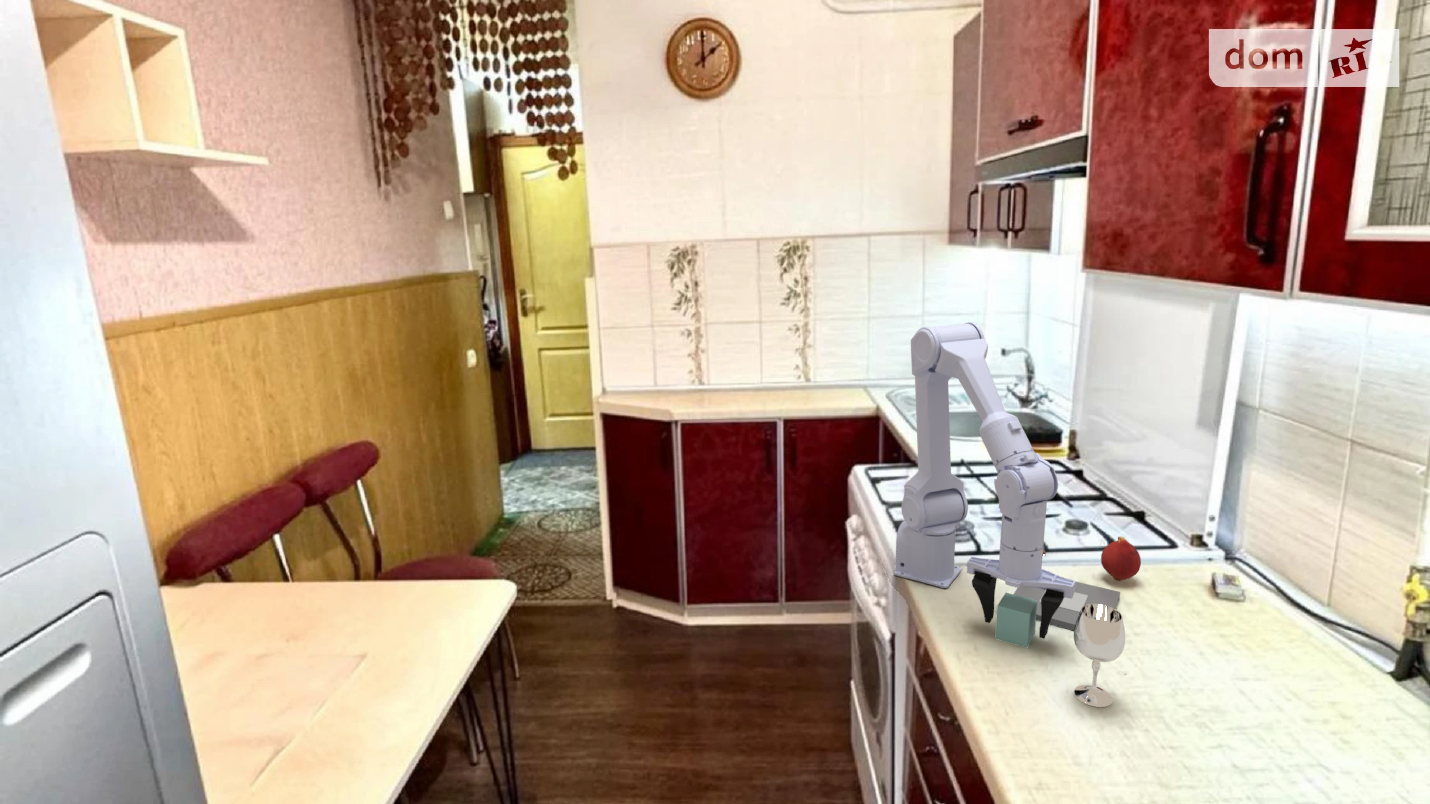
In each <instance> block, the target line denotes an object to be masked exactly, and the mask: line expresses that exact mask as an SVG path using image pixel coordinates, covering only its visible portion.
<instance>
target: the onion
mask: <svg viewBox="0 0 1430 804" xmlns="http://www.w3.org/2000/svg"><path fill="white" fill-rule="evenodd" d="M1141 559H1142V558H1141V555H1140V553H1139V551H1138V550H1137V548H1136V547H1135V546H1134V545H1133V544H1131V543H1130V542H1129V541H1128V540H1127V539H1126V538H1125V536H1118V537H1117V540H1114V541H1112V542H1110V543H1109V544H1108V545H1106V546H1105V548H1104V549H1103V550H1102V552H1101V554H1100V561H1101V562H1100V563H1101V566H1102V568H1103V569H1104V570H1105V571H1106V572H1107V574H1109V575H1110V577H1111V578H1113V580H1115V581H1117V582H1123V581H1126V580H1129V579H1131V578H1132V577H1134V576H1135V575H1137V574H1138V573H1139V571H1140V569H1141V564H1142V563H1141V562H1142V560H1141Z"/></svg>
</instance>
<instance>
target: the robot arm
mask: <svg viewBox="0 0 1430 804" xmlns="http://www.w3.org/2000/svg"><path fill="white" fill-rule="evenodd" d="M988 349H989V344H988V342H987V340H986V338H985V334H984V332H983V330H982V328H981V327H980V325H978V324H977V323H975V322H965V323H960V324H951V325H942V326H941V325H940V326H938V325H937V326H932V327H930V326H923V327H920V328H919V329H918V330H917V331H916V332H915V333H914V335H913V336H912V338H911V339H910V352H911V353H910V355H911V356H910V359H911V375H913V376H914V385H915V387H914V388H915V389H914V390H915V412H916V413H915V415H916V416H915V417H916V439H917V441H916V443H917V444H916V445H917V466H918V467H917V472H916V473H915V474H914V475H913V476H912V477H911V478H910V479H909V480H907V482H905V484H904V486H903V489H904V492H903V497H902V502H901V508H900V509H901V514H902V518H903V519H904V520H903V521H902V522H901V523H900V525H899V527H898V529H897V534H896V540H895V569H894V571H893V575H894V576H897V577H900V578H905V579H907V580H908V579H909V580H911V581H915V582H920V583H923V584H928V585H932V586H934V587H939V588H943V589H948V588H949V587H950V586H951V584H952V583H953V582H954V580H955V579H956V578H957V576H959V575H960V573H961V572H962V570H963V569H962V567H960V566H957V565H955V553H956V552H955V551H956V549H955V548H956V533H957V531H956V530H957V529H960V526H961V525H960V524H961V522H963V521H964V520H965V519H966V518H967V515H968V511H969V503H968V500H967V497H966V493H965V488H964V487H965V486H964V481H962V480H961V479H960V478H959V477H957V476H956V474H953V472H952V468H951V467H952V462H951V459H952V458H951V431H950V430H951V429H950V427H951V425H950V402H949V401H950V398H949V381H950V379H952V378H955V379H958V382H959V384H960V385H961V386H962V388H963V390H964V391H965V393H966V395H967V397H968V398H969V400H970V402H971V404H972V405H973V407H974V408H975V410H976V413H977V414H978V417H979V418H980V419H981V424H980V426H979V431H978V432H979V436H980V438H981V440H982V442H983V444H984V446H985V448H986V451H987V453H988V455H989V457H990V459H991V462H992V464H993V465H994V468H995V470H996V472H997V477H996V478H995V479H994V489H995V493H996V495H997V497H998V509H999V511H1000V512H999V513H1000V514H1001V526H1000V543H999V556H998V557H999V559H995V558H981V557H975V556H970V557H969V559H968V560H967V561H966V562H967V563H966V573H967V574H969V575H974V576H973V578H972V580H971V585H972V588H973V589H974V591H975V593H976V595H977V597H978V600H979V601H980V605H981V608H982V611H983V616H984V617H983V618H984V622H985V623H987V624H990V623H991V622H992V621H993V619H994V615H995V594H996V586H997V581H998V580H1001V581H1004V583H1005V585H1006V586H1009V587H1013V588H1016V589H1017V588H1018V587H1021V586H1030V587H1034V588H1039V589H1043V590H1046V592H1045V593H1044V595H1043V597H1042V598H1041V622H1040V624H1039V631H1038V633H1039V634H1038V637H1039V638H1040V639H1046V637H1047V635H1048V631H1049V627H1050V625H1051V624H1050V621H1051V619H1052V616H1053V615H1054V613H1055V612H1056V610H1057V609H1058V608H1059V606H1060V605H1061V603H1062V601H1063V599H1064V597H1066V598H1070V599H1072V597H1073V595H1074V592H1075V581H1076V580H1073V579H1070V578H1066V577H1064V576H1060V575H1059V574H1056V573H1053V572H1050V571H1048V570H1046V569H1044V568H1042V566H1043V557H1042V556H1043V549H1044V544H1045V533H1046V531H1045V529H1046V520H1047V518H1046V517H1047V503H1048V500H1052V499H1053V498H1054V497H1055V496H1056V494H1057V493H1058V488H1059V481H1058V476H1057V474H1056V471H1055V468H1054V466H1053V465H1052V464H1051V463H1050V462H1049V461H1047V460H1046V459H1044V458H1042V455H1041V454H1039V453H1038V452H1035V451H1034V449H1033V446H1032V444H1031V442H1030V440H1029V438H1028V437H1027V434H1026V432H1025V430H1024V429H1023V425H1022V424H1021V423H1020V420H1019V418H1018V416H1016V415H1014V414H1011V413H1008V412H1006V410H1005V406H1004V405H1003V402H1002V400H1001V396H1000V395H999V393H998V389H997V386H996V384H995V381H994V380H993V377H992V375H991V374H992V373H991V371H990V369H989V365H988V364H987V361H986V358H987V355H988V351H989V350H988ZM997 579H998V580H997Z"/></svg>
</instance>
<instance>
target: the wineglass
mask: <svg viewBox="0 0 1430 804" xmlns="http://www.w3.org/2000/svg"><path fill="white" fill-rule="evenodd" d="M1073 641H1074V645H1075V648H1076V649H1077V650H1078V652H1079V653H1080V654H1081V655H1083V657H1085V658H1087V659H1089V660H1091V661H1092V662H1091V669H1092V683H1091V684H1081V685H1078V686H1076V687H1075V688H1074V690H1073V692H1074V693H1073V695H1074V696H1075V697H1076V699H1077V700H1078V701H1080V702H1081V703H1083V704H1086V705H1088V706H1090V707H1095V708H1105V707H1109V706H1110V705H1112V703H1113V698H1112V695H1111V694H1110V693H1109V692H1108V691H1107V690H1105V689H1104V688H1101V687H1099V686H1097V681H1098V680H1097V679H1098V674H1099V671H1100V670H1101V663H1109V662H1114V661H1115V660H1117V659H1118V658H1120V656H1121V655H1122V653H1123V651H1124V650H1125V644H1126V631H1125V625H1124V619H1123V615H1122V613H1121V612H1120V611H1119V610H1117V608H1116V609H1114V608H1112V607H1109V606H1106V605H1101V604H1087V605H1084V606H1083V607H1082V608H1081V610H1080V612H1079V615H1078V617H1077V620H1076V623H1075V627H1074V630H1073Z"/></svg>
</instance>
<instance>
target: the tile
mask: <svg viewBox="0 0 1430 804" xmlns="http://www.w3.org/2000/svg"><path fill="white" fill-rule="evenodd" d="M1074 581H1075V592H1074V595H1073V597H1072V599H1070V598H1066V597H1064V599H1063V601H1062V603H1061V605H1060V606H1059V608H1058V609H1057V610H1056V612H1055V613H1054V615H1053V616H1052V619H1051V621H1050V624H1049V625H1053V626H1056V627H1059V628H1062V629H1068V630H1071V631H1074V627H1075V623H1076V620H1077V617H1078V615H1079V612H1080V610H1081V608H1082V607H1083V606H1084V605H1087V604H1101V605H1106V606H1109V607H1112V608H1114V609H1116V610H1117V606H1118V603H1119V600H1120V598H1121V591H1118V590H1114V589H1109V588H1106V587H1100V586H1097V585H1092V584H1088V583H1084V582H1080V581H1076V580H1074ZM1045 592H1046V590H1043V589H1039V588H1034V587H1030V586H1021V587H1018V588H1017V587H1016V590H1015V591H1014V593H1013V594H1014V595H1018V596H1022V597H1026V598H1030V599H1033V600H1037V613H1036V622H1040V623H1041V598H1042V597H1043V595H1044V593H1045Z"/></svg>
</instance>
